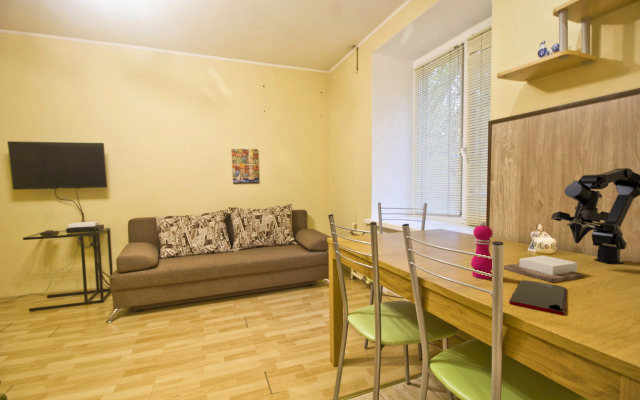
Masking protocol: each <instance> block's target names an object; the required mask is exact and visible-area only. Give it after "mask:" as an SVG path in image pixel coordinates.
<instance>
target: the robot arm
mask: <svg viewBox="0 0 640 400" xmlns="http://www.w3.org/2000/svg"><path fill="white" fill-rule="evenodd" d="M612 183H613V184H614V185H615V189H616V192H617V194H618V195H617V196H616V198H615V201H614V202H613V204H612V207H611V208H610V210H609V212H608V211H601V212H598V211H599V210H598V209H599V208H598V207H597V206H598V202H599V199H600V198H601V199H602V198H603V195H602V194H601V193H600V191H599V190H604V189H605V188H607V187H609V184H612ZM564 194H565V196H566V197H568V198H571V199H572V200H574V201H576V202H577V204H576V206H575V207H574V210H575V212H574V215H573V216H571V214H570V213H568V212H563V211H556V212H553V213H552V215H551V217H550V219H551V220H554V221H557V222H561V221H568V223H567V224H566V226H569V228H570V231H571V234H572V237H573V242H574V244H579V243H580V242H581V241H582V240H583V238H584V237H585V236H586V235H587V234H588V233H589V232H591V231H592V233H591V239H592V240H591V241H592V245H593V246H594V247H597V251H596V252H597V256H596V257H597V258H594V260H593V261H597V262H599V263H600V262H601V263H605V264H611V265H612V264H613V265H614V264H615V265H616V264H617V265H618V264H624V262H625V261H621V259H620V258H621V255H620V253H621V250H625V249H626V248H627V242H626V241H625V238H624V237H623V235H624V234H623V232H622V229H621V227H622V224H623V222H624V219H625V218H626V215H627V213H628V212H629V209H630V207H631V205H632V203H633V201H634V199H636V198H637V197H639V196H640V174H639V173H636V172H634V170H632V168H628V167H627V168H625V167H624V168H621V167H620V168H615V169H612V170H610V171H605V172H603V173H599V174H584V175H582V176H581V178H579V180H572V183H570V184H568V185H567V186H566V187H565V188H564ZM601 221H603V222H601Z"/></svg>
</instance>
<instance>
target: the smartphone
mask: <svg viewBox="0 0 640 400" xmlns="http://www.w3.org/2000/svg"><path fill="white" fill-rule="evenodd" d="M566 290H567V288H566V287H565V286H562V285H556V284H550V283H546V282H538V281H533V280H532V281H531V280H525V279H523V280H520V281H519V282H518V285H517V287H515V290H514V291H513V293H512V294H511V297H510V299H509V300H508V301H509V304H510V305H511V306H515V307H519V308H524V309H530V310H534V311H539V312H543V313H549V314H552V315H558V316H564V315H566V314H565V313H566V308H567V307H566V306H567V303H566V300H567V295H566Z"/></svg>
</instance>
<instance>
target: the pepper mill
mask: <svg viewBox="0 0 640 400" xmlns="http://www.w3.org/2000/svg"><path fill="white" fill-rule="evenodd" d="M479 224H480V225H477V226H475V227H474V228H473V232H472V233H473V236H474V237H475V238H474V240H475V241H474V243H475V246H476V247H475V252H474V254H475V253H476V254H481V255H486V256H490V257H492V255H491V253H490V245H491V241H492V239H491V238H492V237H493V230H492V228H491V227H490V226H487V225H486V224H487V223H486V222H485V221H484V220H482V221H480V223H479ZM492 260H493V258H492V259H488V258H483V257H477V256H474V255H473V256H472V258H471V261H470V266H471V267H472V268H473V270H474V269H475V270H479V271H483V272H486V273H490V274H492V275H493V272H492V270H493V269H492ZM472 276H473V277H474V278H476V279H480V280H491V279H492V278H493V276H492V277H489V276H485V275H481V274H478V273H475V272H473V271H472Z"/></svg>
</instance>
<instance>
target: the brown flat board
mask: <svg viewBox="0 0 640 400" xmlns="http://www.w3.org/2000/svg"><path fill="white" fill-rule="evenodd" d="M519 265H520V262H518V263H513V264H505V265H503V266H504V269H503V270H505V271H508V272H512V273H515V274H519V275H522V274H523V276H525V277H529V276H530V277H529V278H533V279H536V278H537V279H536V280H539V279H540V281H543V280H544V282H546V281H547V282H546V283H549V284H550V283H552V282H553V283H558V282H562V281H568V280H569V281H570V280H574V279H580V278H583V277H584V276H583V275H584V273H580V272H577V271H574V272H568V273H562V274H556V275H550V274H547V273H543V272H539V271H535V270H532V269H528V268H524V267H520V266H519ZM553 283H552V284H553Z"/></svg>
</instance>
